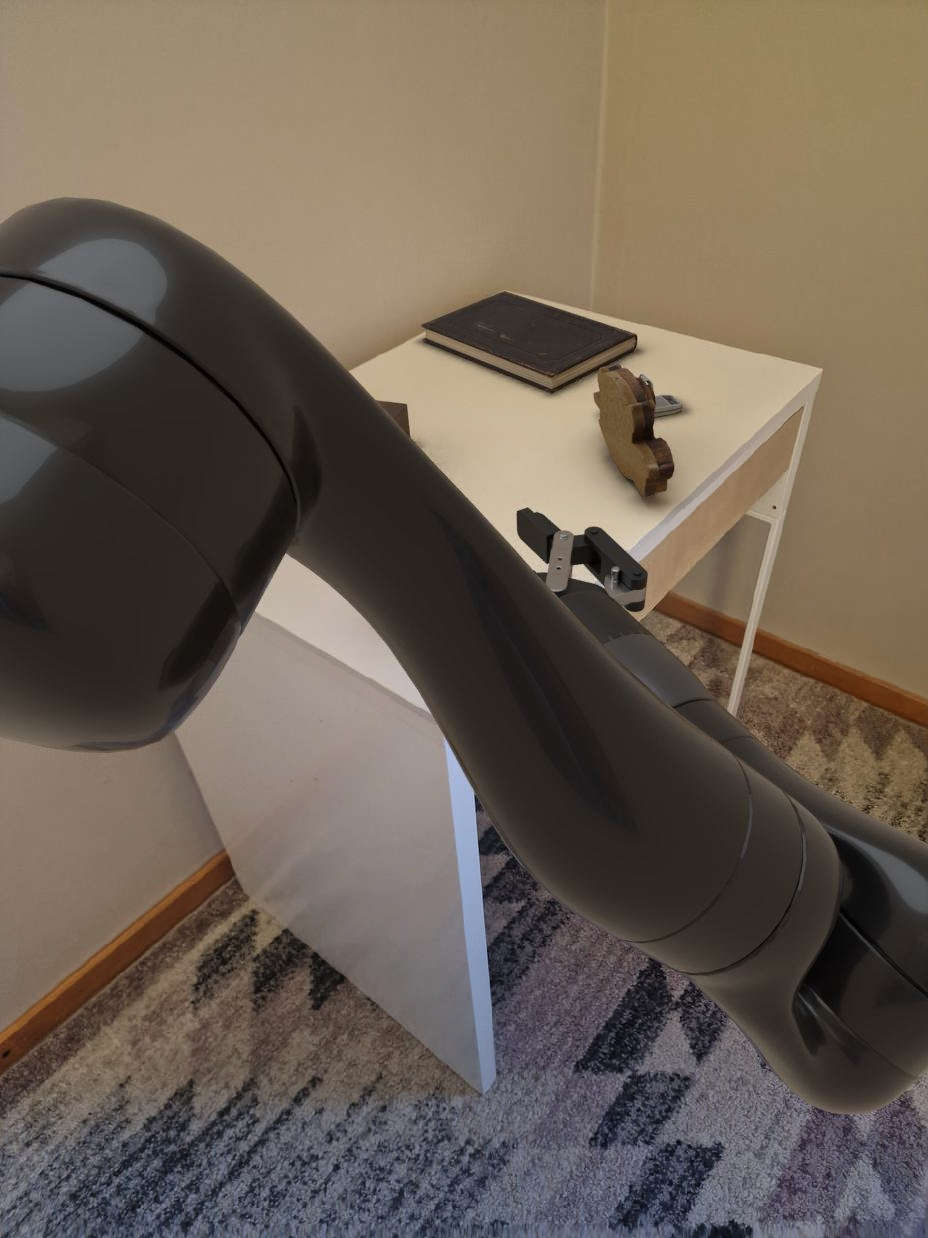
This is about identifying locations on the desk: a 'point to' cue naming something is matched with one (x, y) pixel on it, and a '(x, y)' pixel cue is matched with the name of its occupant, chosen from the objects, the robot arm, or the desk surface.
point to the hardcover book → (529, 340)
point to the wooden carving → (633, 429)
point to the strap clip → (664, 402)
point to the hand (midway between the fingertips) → (463, 540)
